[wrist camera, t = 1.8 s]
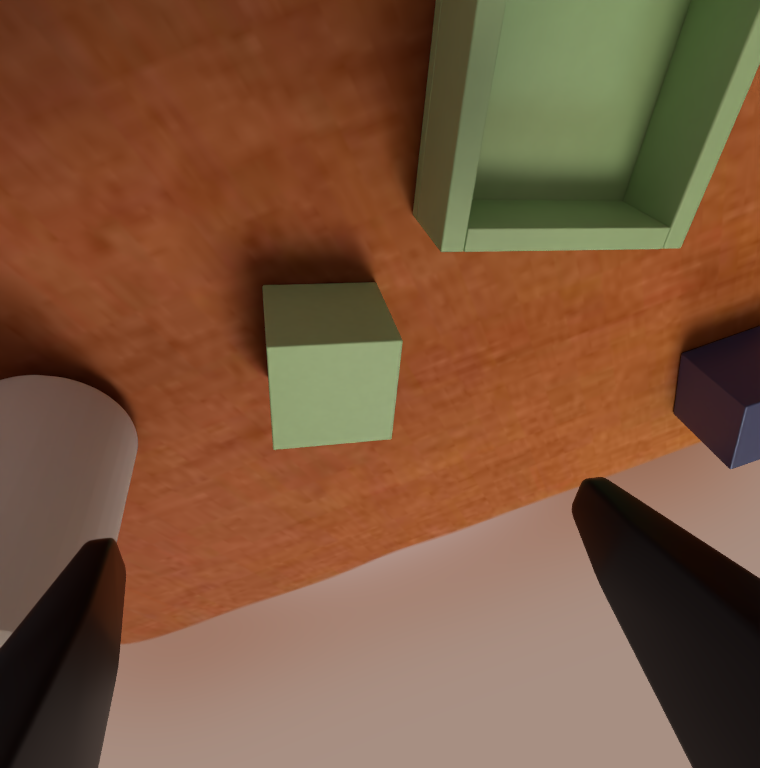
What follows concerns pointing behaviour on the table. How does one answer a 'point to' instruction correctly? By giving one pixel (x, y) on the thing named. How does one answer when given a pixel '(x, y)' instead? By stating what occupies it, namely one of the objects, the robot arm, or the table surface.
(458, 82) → the sage bin
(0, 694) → the robot arm
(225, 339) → the table surface
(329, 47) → the table surface
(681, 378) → the navy block
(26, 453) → the beverage can
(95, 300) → the table surface
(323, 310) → the sage block
